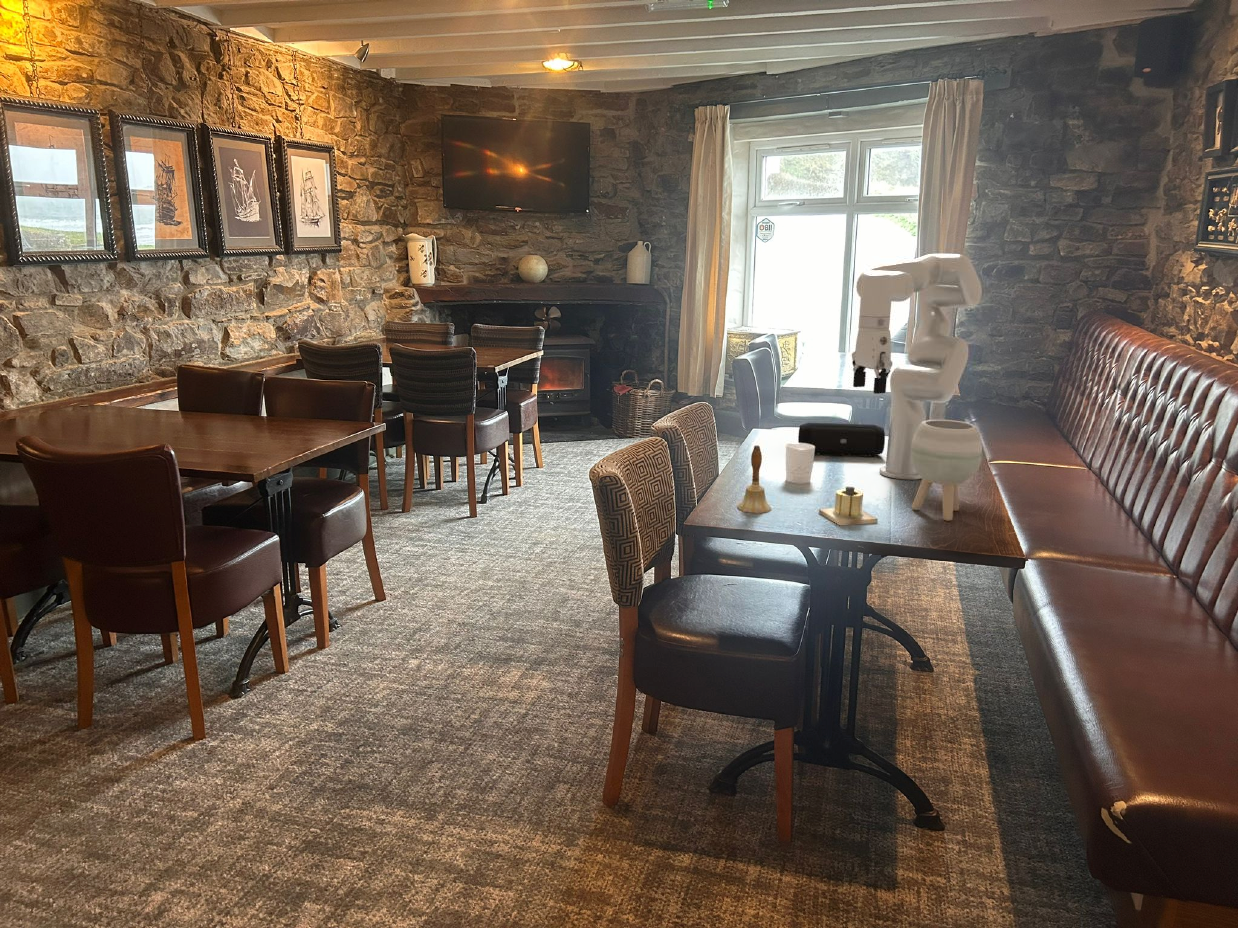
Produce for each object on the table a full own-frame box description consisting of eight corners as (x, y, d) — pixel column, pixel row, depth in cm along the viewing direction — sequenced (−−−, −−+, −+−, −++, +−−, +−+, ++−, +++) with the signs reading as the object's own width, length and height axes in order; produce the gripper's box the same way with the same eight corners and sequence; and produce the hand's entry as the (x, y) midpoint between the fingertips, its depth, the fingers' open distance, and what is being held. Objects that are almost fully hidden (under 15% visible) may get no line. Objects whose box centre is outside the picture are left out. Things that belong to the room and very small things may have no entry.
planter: (968, 507, 215) (979, 420, 210) (979, 526, 200) (991, 433, 195) (901, 502, 219) (910, 416, 213) (907, 520, 204) (917, 428, 198)
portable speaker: (800, 456, 266) (802, 425, 264) (797, 449, 276) (799, 419, 274) (883, 459, 264) (886, 428, 262) (877, 452, 274) (880, 422, 271)
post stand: (855, 510, 211) (857, 481, 209) (877, 522, 201) (880, 492, 200) (818, 512, 208) (821, 483, 206) (839, 525, 199) (841, 494, 197)
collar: (852, 508, 208) (854, 488, 207) (865, 515, 203) (867, 495, 201) (830, 510, 207) (832, 490, 205) (843, 517, 201) (844, 497, 200)
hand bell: (763, 515, 206) (767, 451, 202) (731, 509, 210) (735, 446, 206) (776, 507, 212) (780, 444, 209) (745, 501, 217) (748, 440, 213)
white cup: (812, 485, 233) (815, 449, 231) (783, 483, 235) (785, 448, 232) (812, 478, 241) (814, 443, 238) (783, 476, 242) (786, 442, 240)
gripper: (907, 326, 209) (901, 395, 213) (868, 319, 225) (863, 383, 229) (879, 327, 207) (874, 396, 211) (843, 320, 223) (838, 385, 227)
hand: (868, 390), depth 220 cm, fingers open, 9 cm apart
